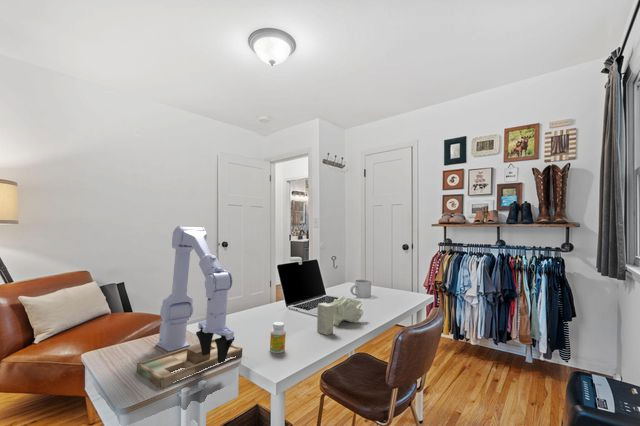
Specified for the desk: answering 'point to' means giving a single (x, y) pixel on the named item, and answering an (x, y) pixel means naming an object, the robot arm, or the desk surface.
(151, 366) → the tray
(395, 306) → the desk surface
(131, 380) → the desk surface
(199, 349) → the walnut block
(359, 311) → the wavy plaster lump
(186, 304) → the robot arm
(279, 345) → the supplement bottle
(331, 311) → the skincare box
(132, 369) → the desk surface
